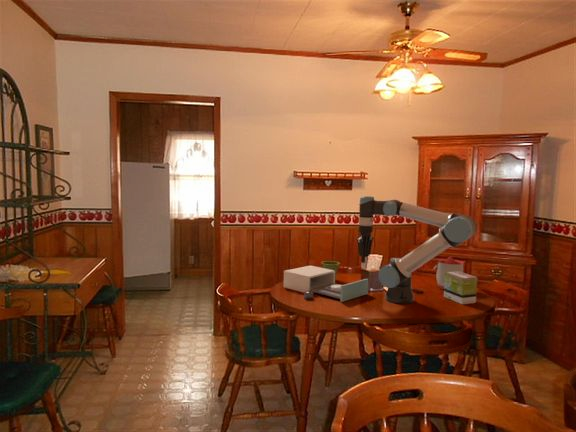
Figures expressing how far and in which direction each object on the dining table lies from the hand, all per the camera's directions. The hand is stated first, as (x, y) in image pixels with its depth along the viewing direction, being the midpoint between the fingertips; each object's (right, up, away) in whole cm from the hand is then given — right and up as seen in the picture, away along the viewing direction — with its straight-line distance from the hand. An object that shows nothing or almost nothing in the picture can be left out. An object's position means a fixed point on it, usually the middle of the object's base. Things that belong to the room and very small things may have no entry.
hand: (364, 268), depth 242 cm
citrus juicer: (+56, -16, +32) cm, 67 cm away
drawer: (-13, -16, +13) cm, 24 cm away
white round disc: (-13, -14, +13) cm, 23 cm away
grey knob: (-30, -17, +4) cm, 35 cm away
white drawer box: (-28, -15, +28) cm, 43 cm away
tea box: (+54, -19, +6) cm, 58 cm away
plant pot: (-14, -13, +48) cm, 52 cm away
